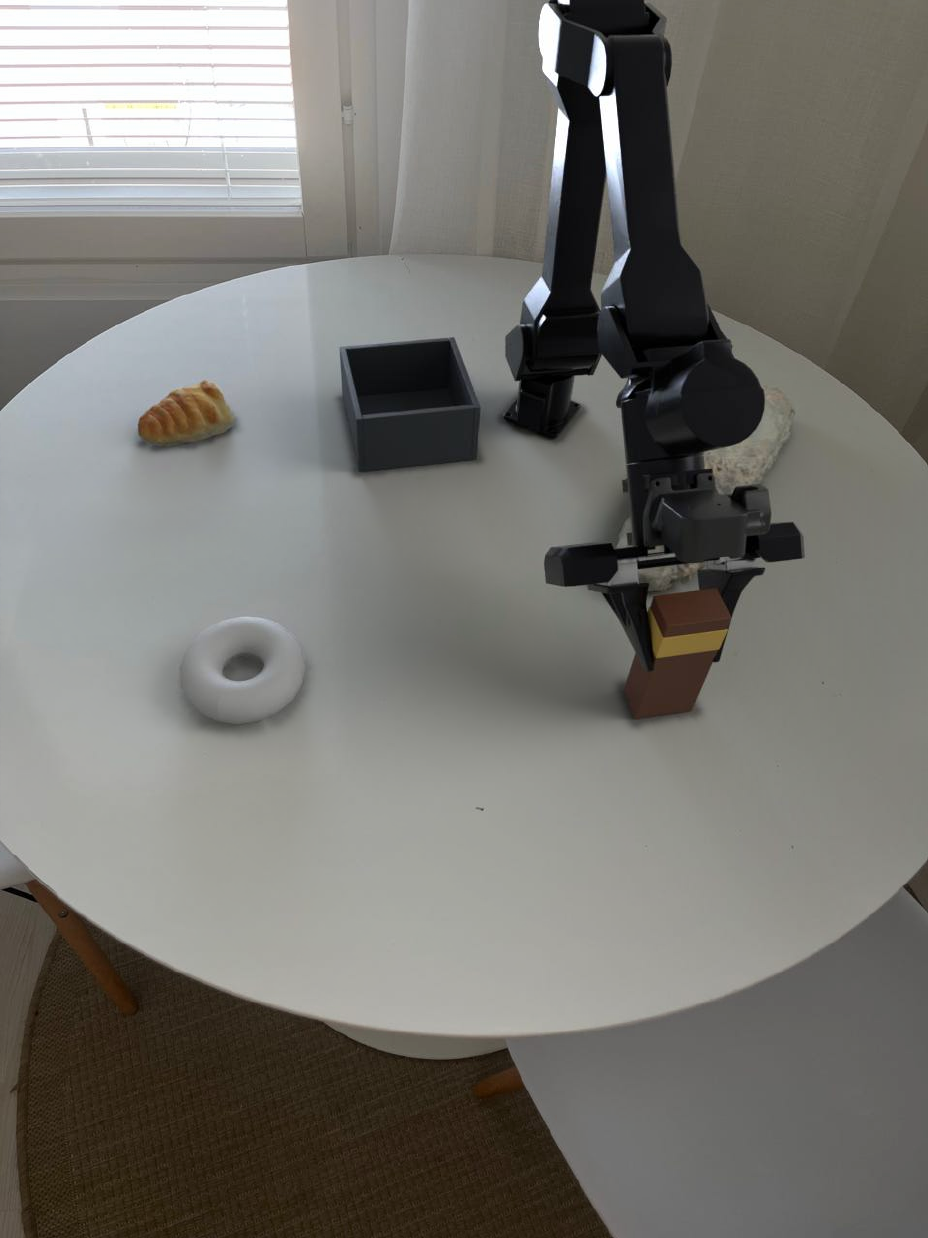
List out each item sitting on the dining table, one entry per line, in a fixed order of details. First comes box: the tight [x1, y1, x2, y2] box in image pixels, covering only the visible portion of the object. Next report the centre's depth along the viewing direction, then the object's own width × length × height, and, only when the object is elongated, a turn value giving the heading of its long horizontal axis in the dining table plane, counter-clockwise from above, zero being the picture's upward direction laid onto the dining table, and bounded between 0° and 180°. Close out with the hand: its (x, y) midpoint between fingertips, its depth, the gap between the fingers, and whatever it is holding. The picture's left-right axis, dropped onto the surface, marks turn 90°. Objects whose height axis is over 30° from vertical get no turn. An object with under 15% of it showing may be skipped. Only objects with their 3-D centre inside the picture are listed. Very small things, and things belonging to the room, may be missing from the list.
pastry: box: [137, 379, 235, 448], centre depth 93 cm, size 9×7×4 cm
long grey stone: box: [614, 385, 796, 592], centre depth 91 cm, size 35×5×10 cm
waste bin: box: [338, 336, 482, 473], centre depth 94 cm, size 12×12×7 cm
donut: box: [179, 615, 307, 725], centre depth 73 cm, size 10×4×10 cm
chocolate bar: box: [623, 588, 733, 720], centre depth 71 cm, size 3×5×12 cm, turn 102°
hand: (681, 666), depth 69 cm, fingers closed on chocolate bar, 5 cm apart
